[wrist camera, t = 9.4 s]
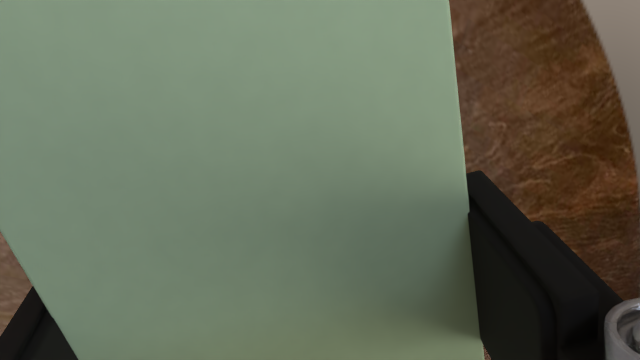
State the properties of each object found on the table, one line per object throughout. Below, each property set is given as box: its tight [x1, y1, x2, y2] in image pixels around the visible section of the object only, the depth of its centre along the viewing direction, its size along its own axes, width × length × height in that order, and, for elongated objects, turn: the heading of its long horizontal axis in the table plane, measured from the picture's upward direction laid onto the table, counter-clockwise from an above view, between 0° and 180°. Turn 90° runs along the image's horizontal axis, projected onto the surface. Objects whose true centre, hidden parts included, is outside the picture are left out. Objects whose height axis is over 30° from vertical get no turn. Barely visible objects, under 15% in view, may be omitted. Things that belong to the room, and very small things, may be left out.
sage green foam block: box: [0, 0, 484, 360], centre depth 10 cm, size 13×7×2 cm, turn 12°
